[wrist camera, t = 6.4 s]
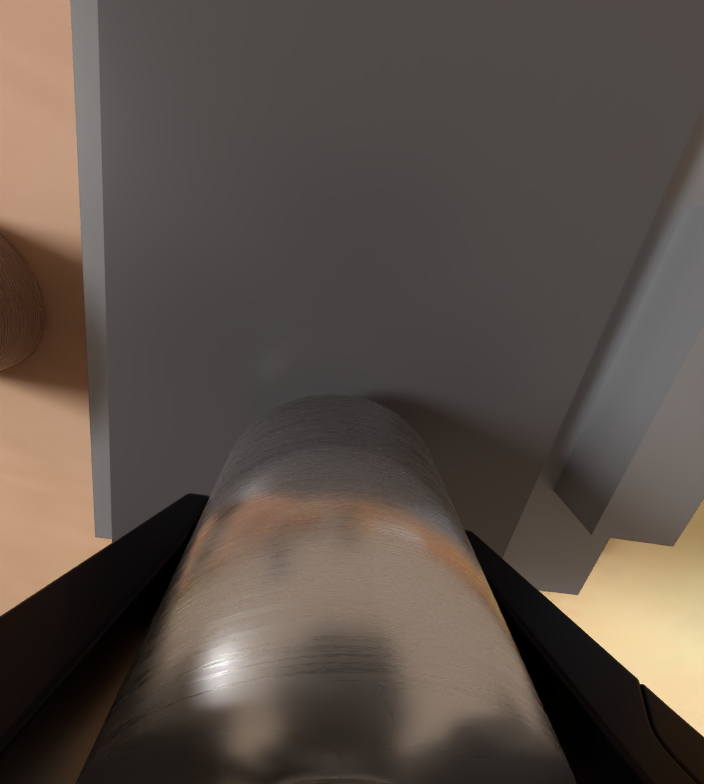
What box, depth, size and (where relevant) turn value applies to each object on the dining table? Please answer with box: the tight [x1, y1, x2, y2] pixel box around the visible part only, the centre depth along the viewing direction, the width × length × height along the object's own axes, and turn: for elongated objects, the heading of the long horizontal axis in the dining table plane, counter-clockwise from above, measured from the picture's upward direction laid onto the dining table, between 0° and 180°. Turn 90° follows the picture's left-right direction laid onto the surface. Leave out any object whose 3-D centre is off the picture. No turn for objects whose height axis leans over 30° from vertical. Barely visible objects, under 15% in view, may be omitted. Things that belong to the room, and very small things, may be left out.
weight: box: [75, 394, 577, 784], centre depth 6 cm, size 5×5×7 cm
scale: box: [70, 0, 704, 595], centre depth 10 cm, size 16×16×4 cm
